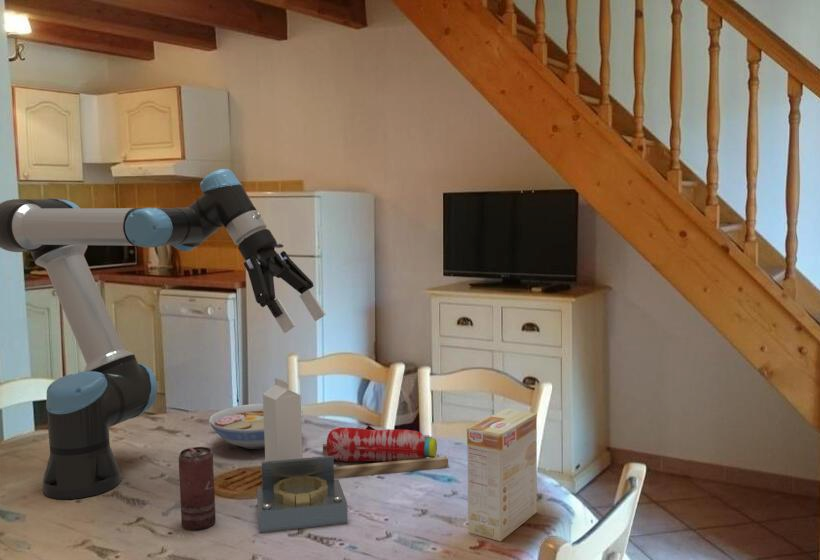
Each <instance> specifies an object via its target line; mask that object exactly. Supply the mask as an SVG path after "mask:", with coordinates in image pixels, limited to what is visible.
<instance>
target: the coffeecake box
mask: <svg viewBox="0 0 820 560" xmlns="http://www.w3.org/2000/svg"><path fill="white" fill-rule="evenodd" d="M537 415H538V414H537V413H535V412H530V411H523V410H519V409H515V408H508V407H507V408H503V409H501V410H500V411H498V412H496V413H494V414H492V415H490V416H488V417H486V418H484V419H483V420H481V421H479V422H476V423H475V424H472V425H470V426H469V427H466V436H467V437H466V438H467V439H466V441H467V443H466V444H467V446H466V447H467V448H466V449H467V451H466V452H467V516H468V517H467V520H468V521H467V522H468V523H467V524H468V525H467V529H468V530H467V531H468V533H469V534H471V535H475V536H477V537H478V536H479V537H484V538H487V539H489V540H493V541H497V542H502V541H504V539H506V538H507V537H508V536H509V535H511V534H512V533H513V532H514V531H515V530H517V529H518V528H519V527H520V526H522V525H523V524H525V523H526V522H527V521H528V520H530V518H532V517H533V516H534V515H536V514H537V513H538V508H537V506H538V505H537V503H538V502H537V499H538V498H537V497H538V495H537V494H538V492H537V491H538V490H537V489H538V488H537V487H538V481H537V479H538V477H537V476H538V473H537V471H538V466H537V465H538V464H537V463H538V461H537V460H538V458H537V457H538V456H537V455H538V454H537V452H538V451H537V447H538V446H537V444H538V443H537V436H538V435H537V432H538V429H537V423H538V422H537V417H538V416H537Z"/></svg>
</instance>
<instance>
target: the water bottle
mask: <svg viewBox="0 0 820 560" xmlns="http://www.w3.org/2000/svg"><path fill="white" fill-rule="evenodd" d="M425 435H426V434H425ZM425 435H424V434H423V433H421V432H419V431H418V430H410V429H398V428H397V429H376V428H374V427H371V426H370V425H369V424H368V425H367V426H366V428H359V427H358V428H357V427H337V428H334V429H331V430H330V431H329V433H328V434H327V437H326V438H327V439H326V444H327V453H328V454H327V456H333V457H334V460H336V461H337V462H338V461H339V462H347V463H349V462H353V463H355V462H378V463H381V462H392V461H403V460H413V459H424V458H435V457H437V456H436V455H437V452H438V451H437V450H438V443H437V439H436V438H434V437H433V436H430V438H426V436H425Z"/></svg>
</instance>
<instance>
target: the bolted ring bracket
mask: <svg viewBox="0 0 820 560" xmlns="http://www.w3.org/2000/svg"><path fill="white" fill-rule="evenodd" d="M334 460H335V459H334V457H333V456H328V455H326V456H325V455H322V456H314V457H303V458H301V459H289V460H278V461H267V462H265V461H261V462H260V465H261V484H262V485H261V486H257V487H256V491H257V492H256V495H257V497H256V498H257V516H258V527H259V528H258V529H259V530H258V531H259V534H262V533H271V532H272V533H273V532H280V531H289V530H299V529H305V528H307V529H308V528H315V527H324V526H325V527H327V526H334V525H335V526H336V525H343V524H348V502H347V498H346V497H345V493H344V491H343V489H342V485H341V482H340V479H339V478H336V479H335V478H334V467H335V465H334V462H335V461H334Z"/></svg>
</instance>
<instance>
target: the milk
mask: <svg viewBox="0 0 820 560" xmlns="http://www.w3.org/2000/svg"><path fill="white" fill-rule="evenodd" d="M262 404H263V412H264V440H265V448H264V459H265V461H264V462H267V461H278V460H289V459H301V458H304V456H303V454H304V453H303V432H302V431H303V425H302V418H301V410H302V396H301V394H300V393H298V392H295V391H293V390H291V389H289V383H288V382H287V381H285V380H283V379H280V378H277V377H275V378H274V384H273V385H272V386H271V387H270V388H268V389H267V390H266V391H265V392H264V393H263V394H262Z"/></svg>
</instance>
